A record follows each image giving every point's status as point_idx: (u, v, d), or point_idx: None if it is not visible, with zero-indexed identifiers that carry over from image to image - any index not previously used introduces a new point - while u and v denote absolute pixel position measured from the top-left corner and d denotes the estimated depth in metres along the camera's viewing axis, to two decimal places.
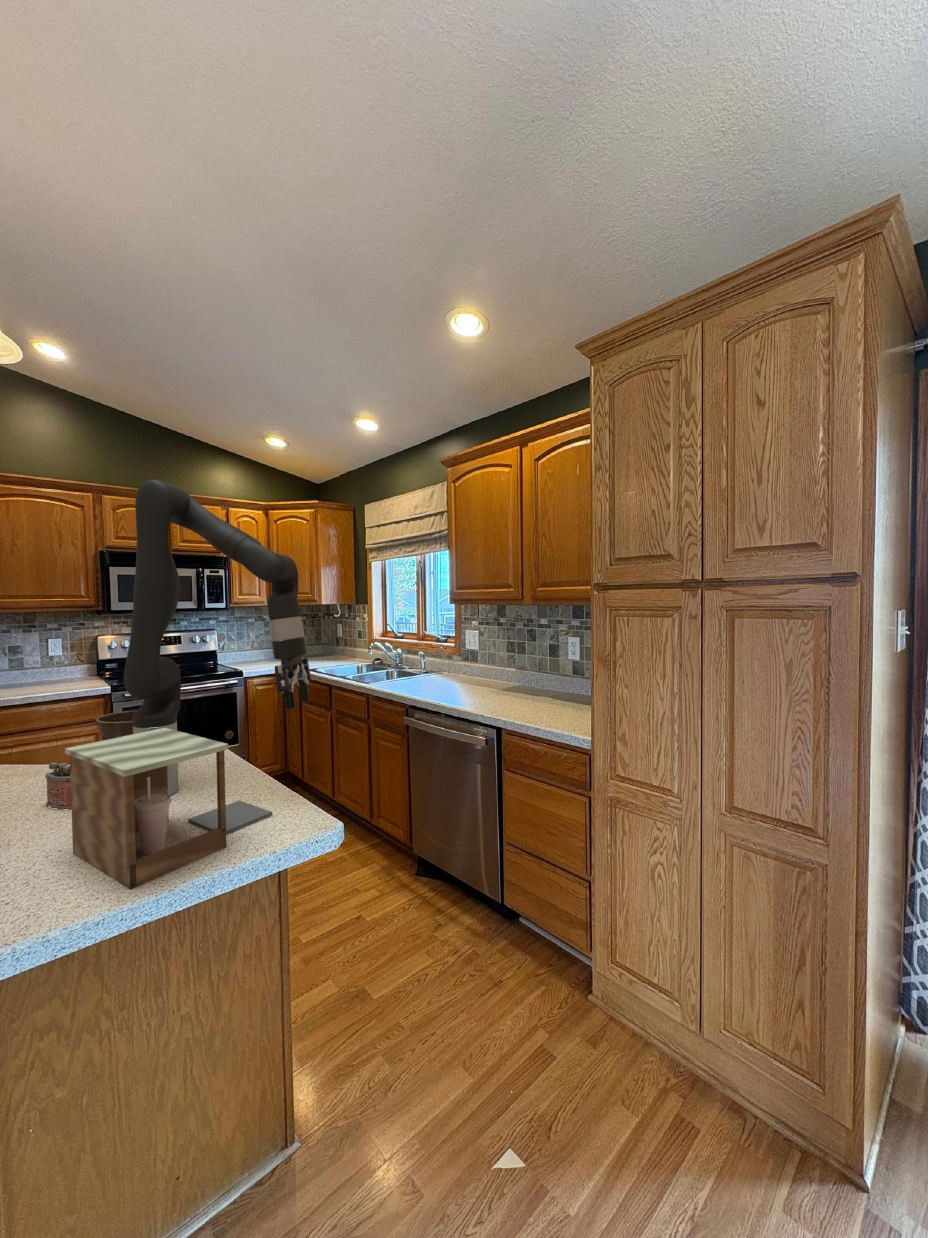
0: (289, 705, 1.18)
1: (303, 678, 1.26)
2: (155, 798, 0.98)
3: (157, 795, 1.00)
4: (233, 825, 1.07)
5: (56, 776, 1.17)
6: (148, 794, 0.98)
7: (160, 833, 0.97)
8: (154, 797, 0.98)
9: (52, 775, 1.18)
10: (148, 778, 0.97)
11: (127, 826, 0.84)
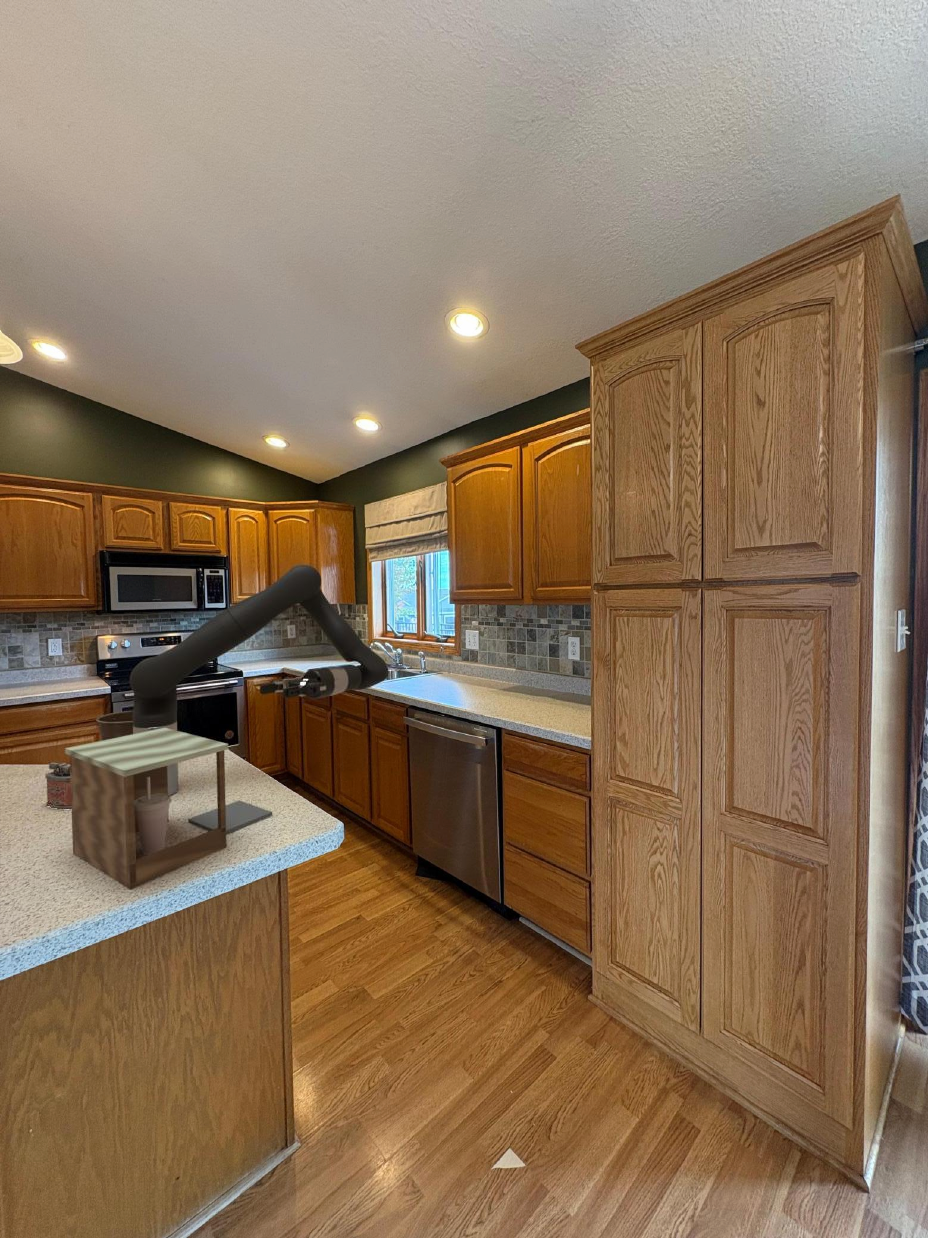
0: (289, 694, 1.18)
1: None
2: (155, 798, 0.98)
3: (157, 795, 1.00)
4: (233, 825, 1.07)
5: (56, 776, 1.17)
6: (148, 794, 0.98)
7: (160, 833, 0.97)
8: (154, 797, 0.98)
9: (52, 775, 1.18)
10: (148, 778, 0.97)
11: (127, 826, 0.84)
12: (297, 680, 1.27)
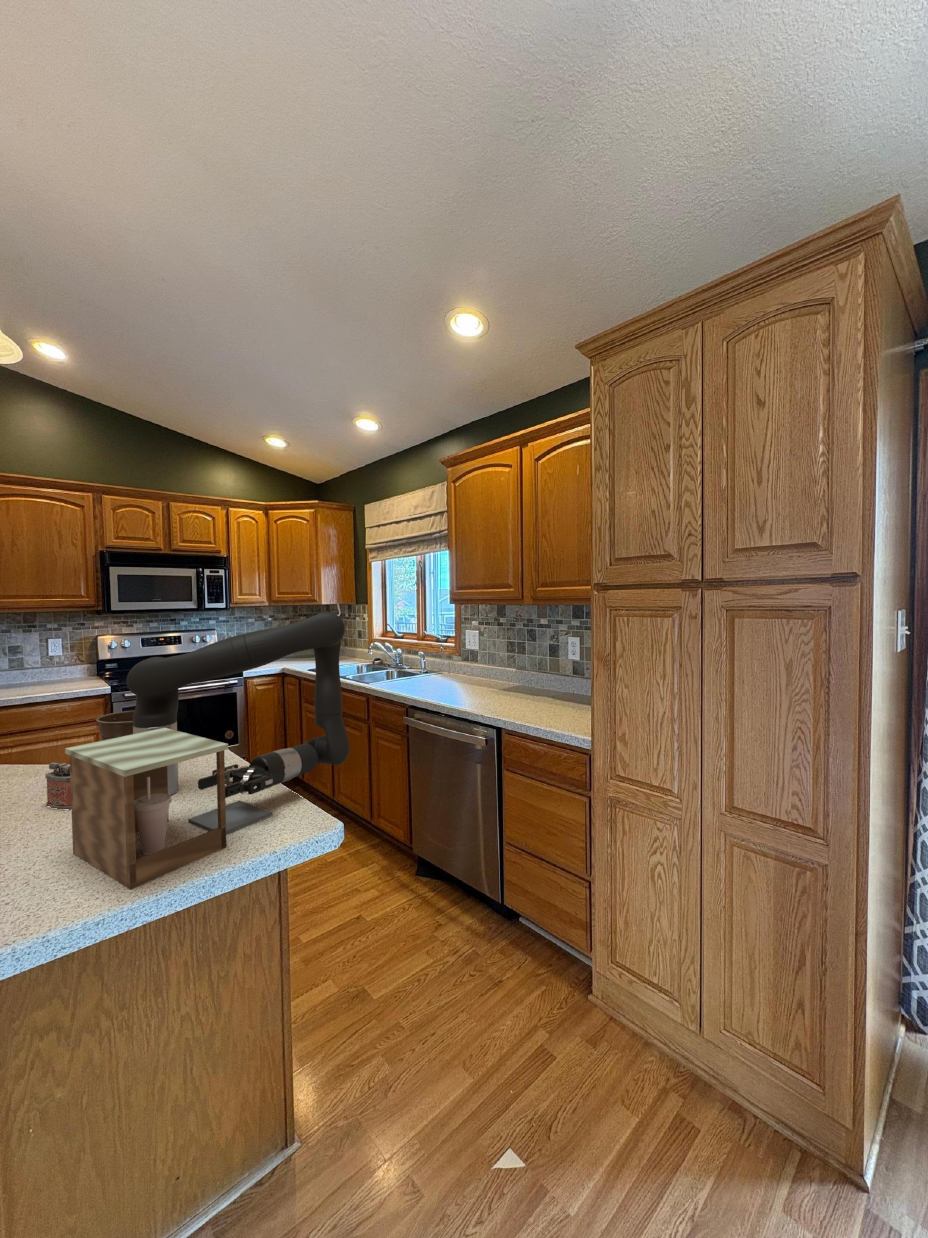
0: (228, 793, 1.06)
1: (227, 782, 1.14)
2: (155, 798, 0.98)
3: (157, 795, 1.00)
4: (233, 825, 1.07)
5: (56, 776, 1.17)
6: (148, 794, 0.98)
7: (160, 833, 0.97)
8: (154, 797, 0.98)
9: (52, 775, 1.18)
10: (148, 778, 0.97)
11: (127, 826, 0.84)
12: (242, 770, 1.15)
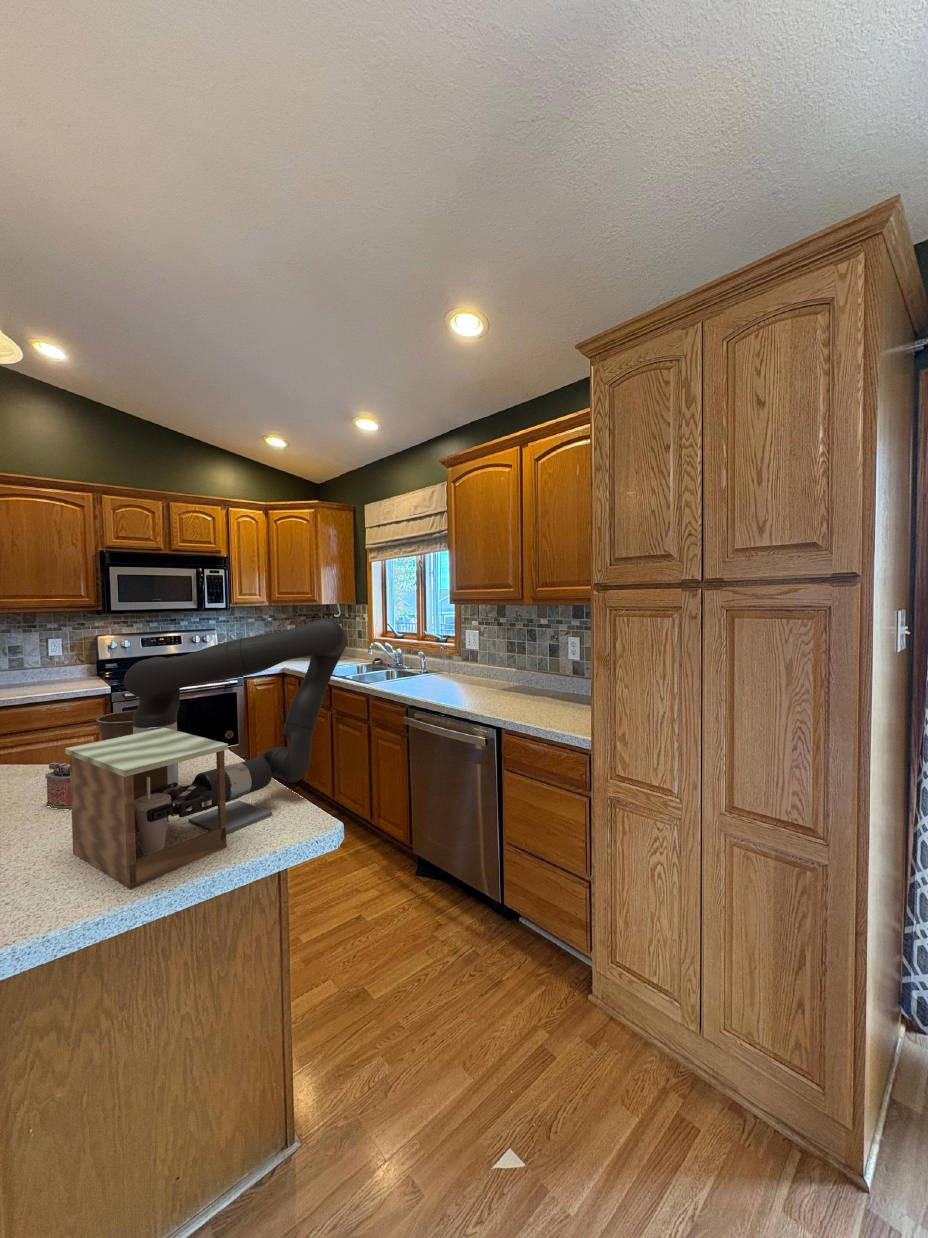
0: (155, 817, 0.94)
1: None
2: (155, 798, 0.98)
3: (157, 795, 1.00)
4: (233, 825, 1.07)
5: (56, 776, 1.17)
6: (148, 794, 0.98)
7: (160, 833, 0.97)
8: (154, 797, 0.98)
9: (52, 775, 1.18)
10: (148, 778, 0.97)
11: (127, 826, 0.84)
12: (182, 789, 1.04)
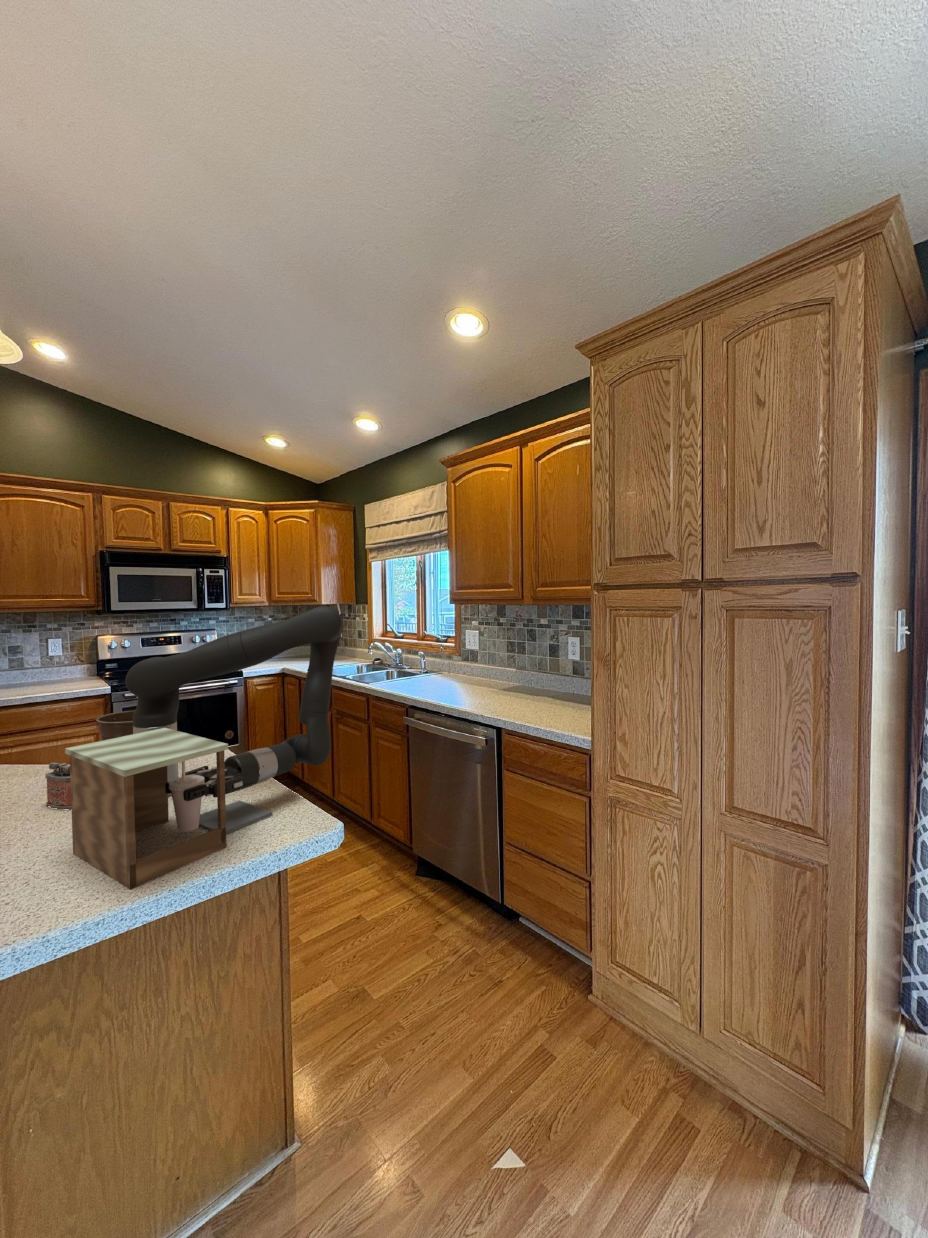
0: (191, 796, 1.00)
1: None
2: (190, 779, 1.04)
3: (191, 777, 1.06)
4: (233, 825, 1.07)
5: (56, 776, 1.17)
6: (183, 775, 1.03)
7: (195, 812, 1.03)
8: (189, 778, 1.04)
9: (52, 775, 1.18)
10: None
11: (127, 826, 0.84)
12: (214, 771, 1.09)
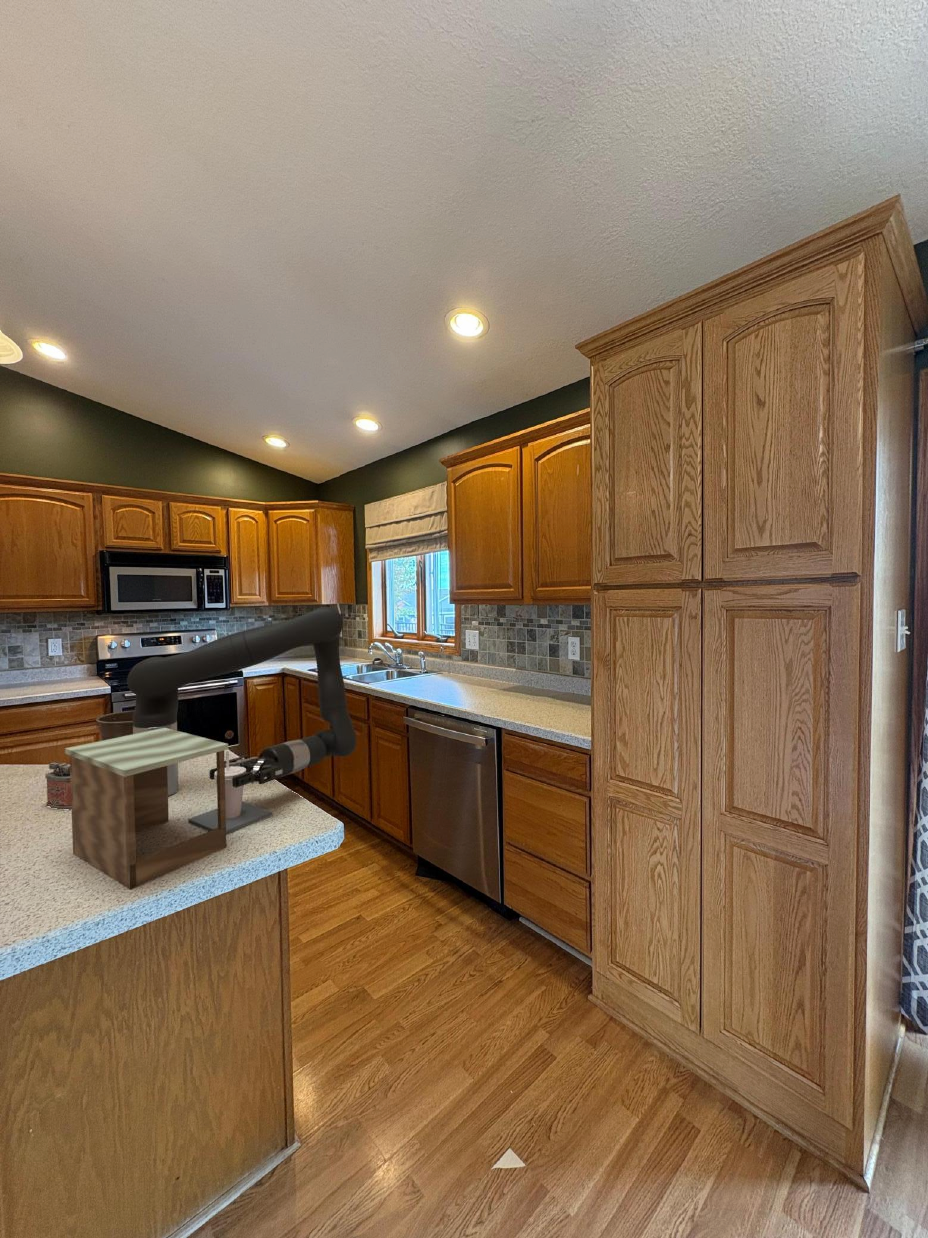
0: (240, 783, 1.08)
1: None
2: (233, 770, 1.12)
3: (233, 768, 1.14)
4: (233, 825, 1.07)
5: (56, 776, 1.17)
6: (227, 766, 1.11)
7: (238, 800, 1.11)
8: (232, 769, 1.12)
9: (52, 775, 1.18)
10: (227, 752, 1.11)
11: (127, 826, 0.84)
12: (252, 761, 1.17)
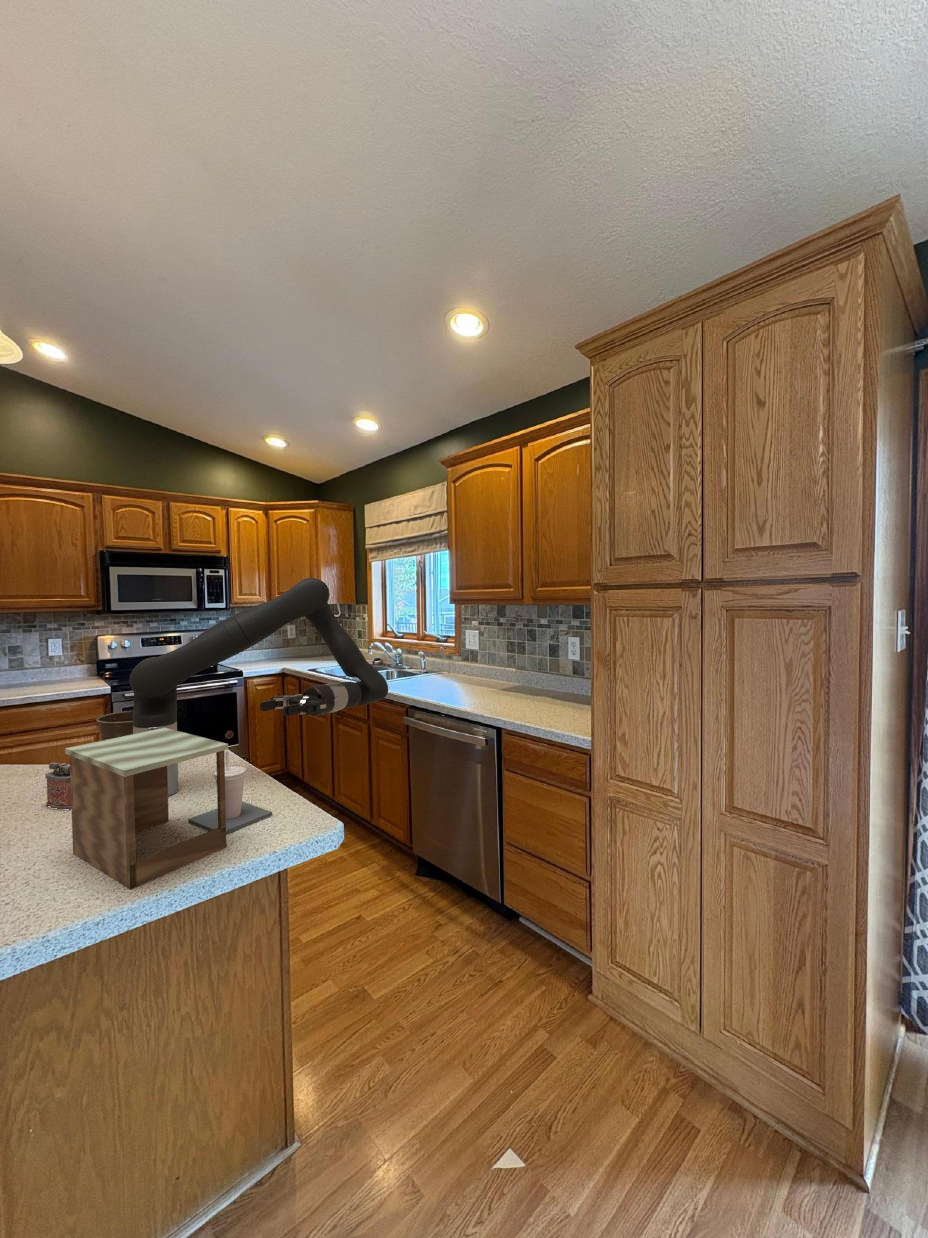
0: (290, 712, 1.18)
1: None
2: (233, 770, 1.11)
3: (233, 768, 1.14)
4: (233, 825, 1.07)
5: (56, 776, 1.17)
6: (227, 766, 1.11)
7: (238, 800, 1.11)
8: (232, 769, 1.12)
9: (52, 775, 1.18)
10: (227, 752, 1.11)
11: (127, 826, 0.84)
12: (297, 697, 1.27)
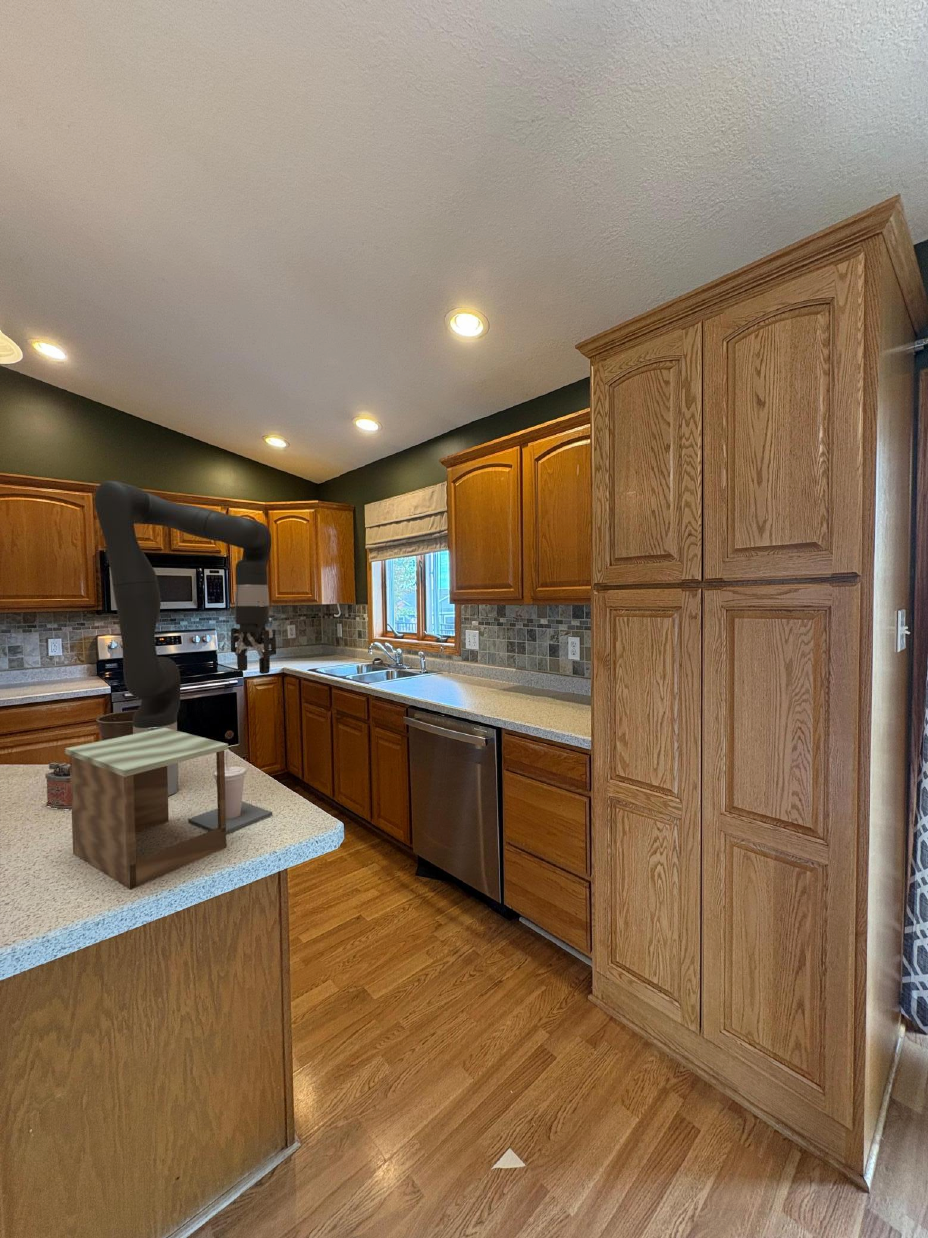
0: (267, 669, 1.21)
1: (249, 647, 1.26)
2: (233, 770, 1.11)
3: (233, 768, 1.14)
4: (233, 825, 1.07)
5: (56, 776, 1.17)
6: (227, 766, 1.11)
7: (238, 800, 1.11)
8: (232, 769, 1.12)
9: (52, 775, 1.18)
10: (227, 752, 1.11)
11: (127, 826, 0.84)
12: (244, 638, 1.23)
